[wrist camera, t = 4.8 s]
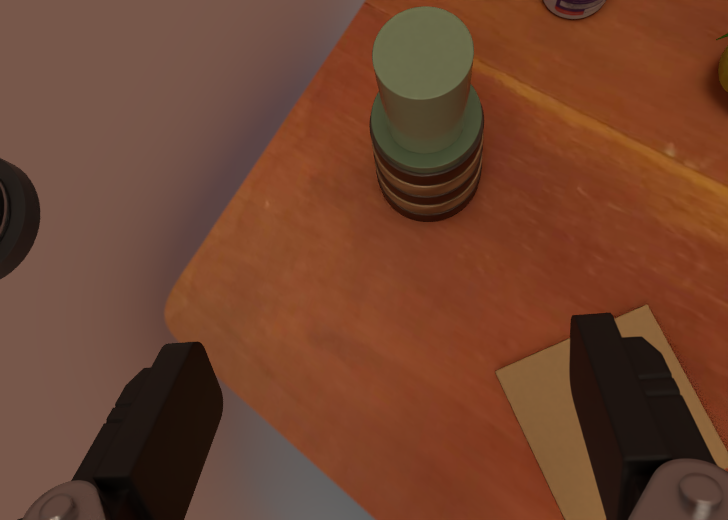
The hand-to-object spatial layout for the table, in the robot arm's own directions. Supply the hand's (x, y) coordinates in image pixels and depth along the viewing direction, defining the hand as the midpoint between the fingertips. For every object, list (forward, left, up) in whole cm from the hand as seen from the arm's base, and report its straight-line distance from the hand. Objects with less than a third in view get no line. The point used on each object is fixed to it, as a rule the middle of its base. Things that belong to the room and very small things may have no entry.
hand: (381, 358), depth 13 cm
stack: (+7, +14, -33) cm, 36 cm away
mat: (+11, -8, -33) cm, 35 cm away
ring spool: (+7, +14, -23) cm, 27 cm away
